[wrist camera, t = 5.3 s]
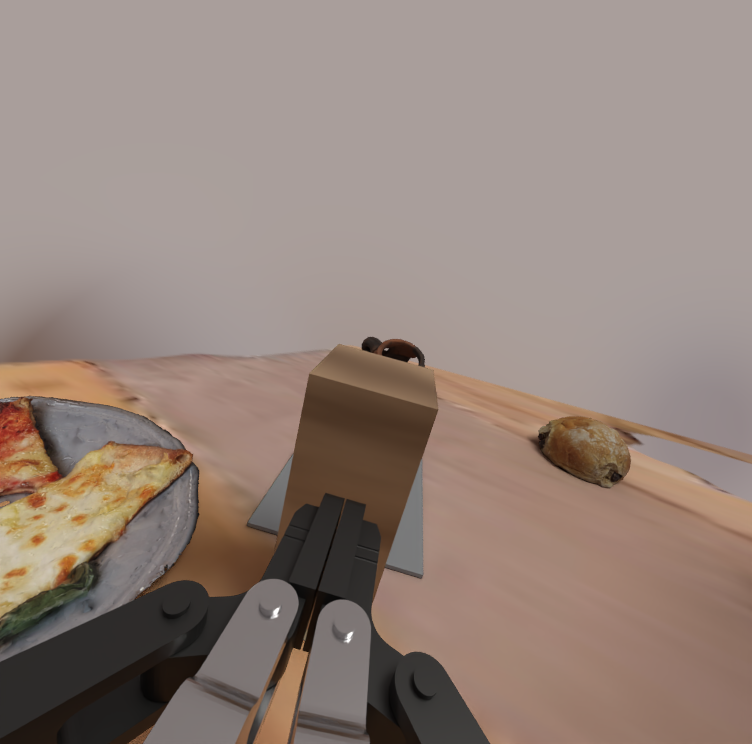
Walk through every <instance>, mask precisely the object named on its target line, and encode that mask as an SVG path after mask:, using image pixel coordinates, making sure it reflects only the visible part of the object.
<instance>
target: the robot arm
mask: <svg viewBox="0 0 752 744" xmlns="http://www.w3.org/2000/svg"><path fill="white" fill-rule="evenodd" d="M344 500H345V498H342V497H339V496H335V495H332V494H329V493H325V494H324V496H323V499H322V501H321V504H320V506H319V507H317V506H313V505H310V504H305V505H303V506H302V507H301V508H300V509H298V510H297V511H296V512H295V513H294V515H293V517H292V519H291V521H290V523H289V526H288V527H287V529H286V531H285V533H284V536H283V537H282V539H281V541H280V543H279V545H278V547H277V549H276V551H275V553H274V555H273V557H272V559H271V561H270V563H269V565H268V567H267V569H266V571H265V573H264V575H263V577H262V579H261V580H260V581H259V583H257V584H255V585H254V586H253V587H252V588H251V589H250V590H248V591H247V592H245V593H242V594H239V595H235V596H226V597H209V596H208V593H207V591H206V589H205V588H204V587H203V586H202V585H201V584H199V583H197V582H194V581H189V580H183V581H177V582H173V583H170V584H168V585H165V586H163V587H161V588H159V589H157V590H155V591H152V592H150V593H148V594H146V595H144V596H142V597H139V598H137V599H135V600H133V601H131V602H129V603H126V604H124V605H122V606H120V607H118V608H116V609H113V610H111V611H109V612H107V613H105V614H103V615H100V616H98V617H96V618H94V619H92V620H90V621H87V622H85V623H83V624H81V625H79V626H77V627H74V628H72V629H70V630H68V631H66V632H64V633H61V634H59V635H57V636H55V637H53V638H51V639H48V640H46V641H44V642H42V643H40V644H38V645H35V646H33V647H31V648H29V649H27V650H25V651H22V652H20V653H18V654H16V655H14V656H12V657H9V658H7V659H5V660H3V661H1V662H0V744H127V743H129V742H130V741H132V740H133V739H135V738H136V737H137V736H139V735H140V734H142V733H143V732H144V731H146V730H147V729H149V728H150V727H152V726H153V725H154V724H155V726H154V727H153V729H152V730H151V732H150V733H149V735H148V736H147V738H146V740H145V741H144V743H143V744H255V743H256V740H257V738H258V735H259V733H260V730H261V728H262V725H263V723H264V720H265V718H266V715H267V713H268V711H269V708H270V706H271V703H272V701H273V698H274V696H275V693H276V691H277V688H278V686H279V683H280V680H281V677H282V676H283V674H284V672H285V670H286V667H287V664H288V661H289V658H290V655H291V652H292V649H293V648H296V649H299V650H300V649H301V646H302V642H303V639H304V636H305V633H306V630H307V626H308V623H309V620H310V617H311V620H310V624H309V628H308V632H307V635H306V639H305V643H304V647H303V651H306V652H309V654H308V657H307V661H306V665H305V668H304V672H303V676H302V680H301V683H300V687H299V691H298V696H297V701H296V705H295V710H294V714H293V719H292V724H291V728H290V733H289V737H288V742H287V744H490V743H489V741H488V739H487V738H486V736H485V734H484V733H483V731H482V730H481V728H480V726H479V725H478V723H477V721H476V720H475V718H474V716H473V715H472V713H471V712H470V710H469V708H468V707H467V705H466V703H465V702H464V700H463V699H462V697H461V695H460V694H459V692H458V690H457V689H456V687H455V686H454V684H453V682H452V681H451V679H450V677H449V676H448V674H447V672H446V671H445V669H444V668H443V667H442V665H441V664H440V663H439V662H438V661H437V660H436V659H434V658H433V657H431V656H430V655H428V654H425V653H422V652H411V653H409V654H406V655H405V656H403V655H402V654H400V653H399V652H398V651H396V650H395V649H393V648H392V647H391V646H389V645H388V644H387V643H386V642H385V641H384V640H383V639H382V638H381V637H380V636H379V634H378V633H377V631H376V629H375V627H374V624H373V621H372V617H371V607H372V600H373V593H374V586H375V578H376V571H377V563H378V557H379V550H380V543H381V535H380V532H379V529H378V526H377V524H375V523H372V522H368V521H365V520H363V517H364V513H365V508H366V504H363V503H360V502H356V501H353V500H349V499H346V502H345V505H344V509H343V512H342V508H343V504H344ZM341 512H342V515H341ZM340 516H341V518H340ZM339 519H340V522H339ZM338 523H339V525H338ZM337 527H338V528H337ZM335 534H336V535H335ZM315 600H316V601H315ZM314 604H315V605H314ZM313 607H314V609H313ZM312 610H313V612H312ZM311 613H312V616H311Z"/></svg>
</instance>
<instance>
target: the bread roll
mask: <svg viewBox="0 0 752 744" xmlns="http://www.w3.org/2000/svg"><path fill="white" fill-rule="evenodd" d="M538 437H539V440H541V441H540V442H539V445H540V449H541V450H542V452H543V454H544V455H545V456H546V457H548V458H549V459H550V460H551V462H552V463H554V464H555V465H556V466H559V467H561V468H562V469H564V470H566V471H567V472H569V473H570V474H572V475H574V476H576V477H578V478H580V479H582V480H585V481H587V482H590V483H595V484H598V485H600V486H601V487H607V488H609V487H612V486H613V484H615V483H617V482H619V481H620V480H623V478H624V477H625V476H626V474H627V473H628V471H629V469H630V463H631V459H630V453H629V450H628V447H627V445H626V444H625V442H624V441H623V440H622V439H621V438H620V436H619V433H618V432H617V431H616V430H614V429H610V428H609V427H608V426H607V425H605V424H603V423H601V422H599V421H597V420H594V419H591V418H586V417H565V418H560V419H558V420H552V421H549V424H546V426H543V427H541V428H540V430H539V436H538Z"/></svg>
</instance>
